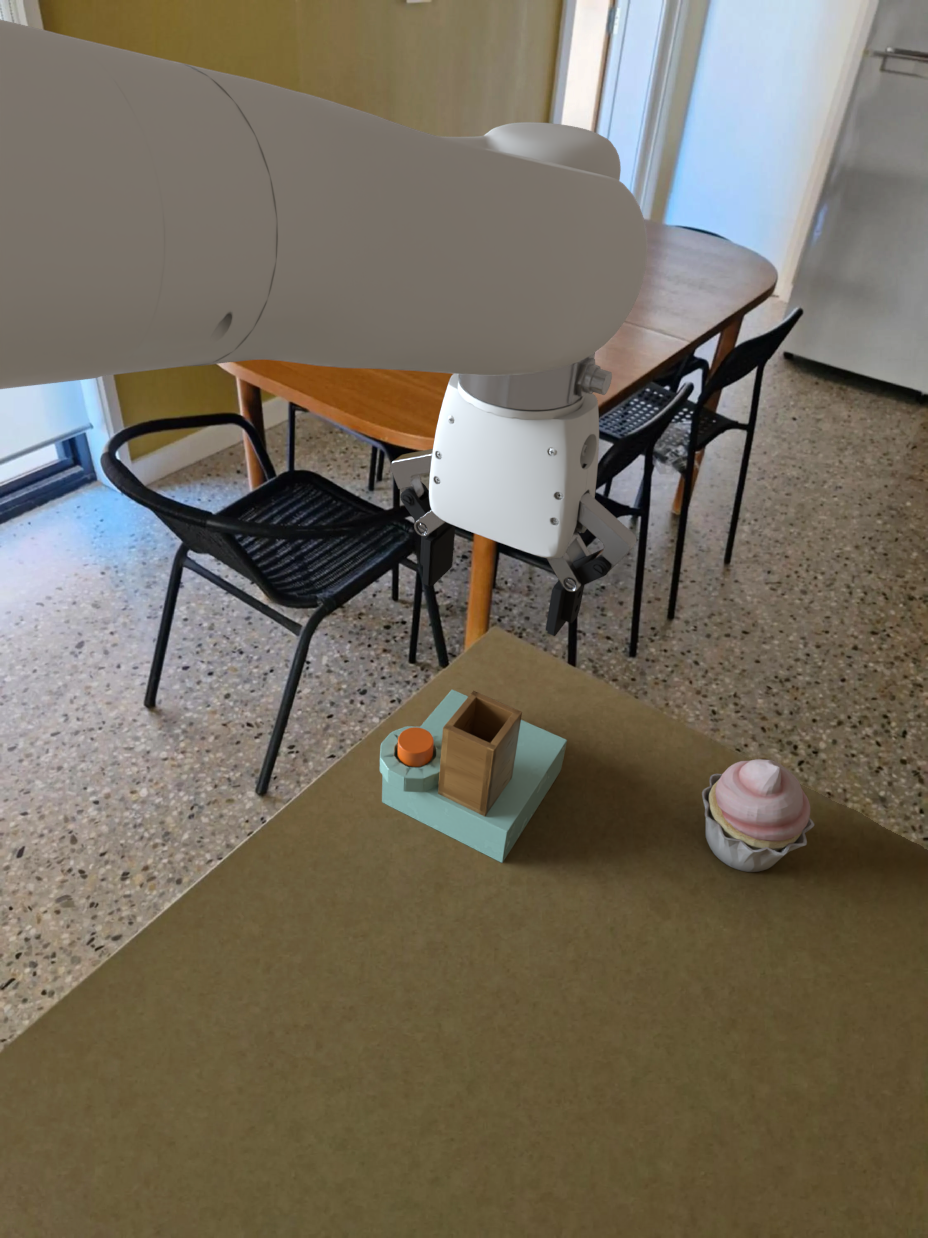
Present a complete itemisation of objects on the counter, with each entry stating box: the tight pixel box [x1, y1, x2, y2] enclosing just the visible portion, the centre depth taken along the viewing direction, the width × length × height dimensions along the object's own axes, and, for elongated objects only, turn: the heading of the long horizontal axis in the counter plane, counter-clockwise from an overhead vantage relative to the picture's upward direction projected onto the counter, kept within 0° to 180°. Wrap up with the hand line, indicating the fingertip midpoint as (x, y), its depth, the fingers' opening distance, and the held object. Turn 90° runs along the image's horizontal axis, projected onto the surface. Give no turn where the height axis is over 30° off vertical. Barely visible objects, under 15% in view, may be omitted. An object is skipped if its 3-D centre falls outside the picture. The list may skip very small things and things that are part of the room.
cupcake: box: [701, 758, 815, 873], centre depth 74 cm, size 9×9×10 cm
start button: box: [397, 726, 434, 767], centre depth 75 cm, size 3×3×2 cm
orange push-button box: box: [379, 689, 568, 864], centre depth 78 cm, size 13×13×6 cm
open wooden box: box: [438, 690, 523, 817], centre depth 73 cm, size 5×4×8 cm
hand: (496, 599), depth 62 cm, fingers open, 9 cm apart
